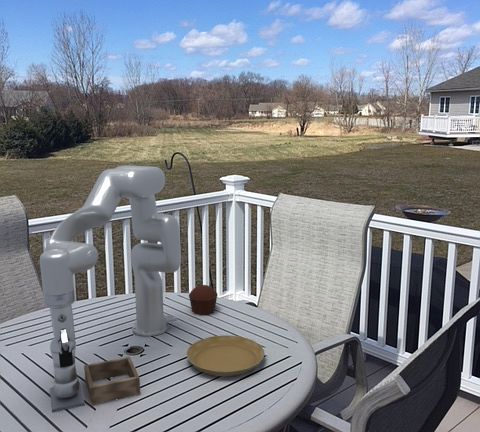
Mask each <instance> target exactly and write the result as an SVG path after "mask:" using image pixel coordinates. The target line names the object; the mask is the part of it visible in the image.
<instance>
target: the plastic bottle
mask: <svg viewBox="0 0 480 432" xmlns="http://www.w3.org/2000/svg"><path fill="white" fill-rule="evenodd" d="M60 333H61V330H60ZM67 340H68V338H67ZM60 341H62V340H60ZM76 343H77V342H76V340H75V341H70V345H71V350H72V356H73V365H72V366H68V367H63V368H61V367H60V361H59V353H60V351H59V344H57V343H56V341H55V337H53V338H52V340H51V341H50V343H49V345H50V346H49V350H50V354H51V358H52V362H53V370H54V372H53V373H54V375H53V376H54V377H53V378H54V380H53V387H54V392H55V395H56V396H57V397H58V398H61V399H66V398H70V397H72V396H74V395H75V394H76V393H77V392H78V390H79V382H80V380H79V377H78V373H77V368H76V346H77V344H76ZM62 346H63V345H62V344H61V348H62Z"/></svg>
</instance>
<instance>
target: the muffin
mask: <svg viewBox="0 0 480 432" xmlns="http://www.w3.org/2000/svg"><path fill="white" fill-rule="evenodd" d="M218 296H219V295H218V292H217V291H216V290H215V289H214V288H213V287H211V286H210V285H207V284H200V285H196V286H195V287H194V288H193V289H192V290H191V291H190V293H189V294H188V297H189V303H190V307H191V312H192V313H193V314H194V315H198V316H208V315H210V314H212V315H213V314H214V313H215V311H216V306H217V298H218Z"/></svg>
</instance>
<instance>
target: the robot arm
mask: <svg viewBox="0 0 480 432" xmlns="http://www.w3.org/2000/svg"><path fill="white" fill-rule="evenodd" d="M165 184H166V175H165V173H164V171H163V170H162V169H161V168H160V167H157V166H148V165H147V166H146V165H143V166H142V165H119V166H117V167H115V168H108V169H105V170H103V171H102V172H101V173H100V174H99V176H98V178H97V180H96V181H95V183H94V186H93V187H92V189H91V191H90V193H89V195H88V197H87V199H86V200H85V203H84V204H83V206H82V207H81V208H79V209H78V210H76V211H74V212H73V213H72V214H70V215H69V216H67V217H66V218H65V219H63V220H62V221H61V222H60V223H58V225H57V226H56V228H55V229H54V230H53V232H52V233H51V235H50V237H49V239H48V241H47V243H46V246H45V248H44V252H42V253H41V254H40V256H39V265H40V266H39V267H40V275H41V284H42V285H41V286H42V296H43V305H44V306H45V308H49V313H50V321H51V327H52V332H53V336H54V337H55V341H56V343H57V344H59V351H60V353H59V361H60V367H61V368H63V367H68V366H72V365H73V356H72V350H71V345H70V341H75V342H76V334H75V322H74V313H73V312H74V311H73V307H72V305H73V304H74V303H75V302H76V297H75V285H74V284H75V283H74V275H75V274H80V273H83V272H87V271H89V270H91V269H92V268H94V266H95V267H96V265H97V264H98V263H97V262H98V260H99V252H98V249H97V248H96V247H95V246H94V245H92V243H91V244H90V243H88V242H87V243H86V242H79V241H73V240H74V239H75V238H77V237H78V236H79V235H81V234H82V233H85V232H86V231H90V230H92V229H96V228H98V227H101V226H104V225H106V224H108V223H109V222H111V220H112V218H113V216H114V214H115V212H116V210H117V207H118V206H119V204H120V202H121V200H122V199H124V198H127V199H128V201H129V205H130V213H131V214H130V216H131V224H132V225H131V226H132V232H133V233H132V234H133V236H134V238H135V239H138V240H140V241H147V242H140V243H137V244H135V245H134V246H133V247H132V249H131V250H130V251H131V252H130V263H131V266H132V269H133V270H132V272H133V276H134V278H133V279H134V294H135V318H136V320H135V321H136V322H135V323H134V324H133V325H132V328H131V329H132V332H133V333H134V334H135V335H137V336H140V337H154V336H158V335H161V334H163V333H165V332H166V331H168V329H169V323H172V322H177V321H178V317H177V316H176V315H174V316H173V315H172V314H167V315H165V314H164V296H163V295H164V293H163V292H164V291H163V287H164V286H163V279H162V276H161V274H160V273H166V274H168V273H169V274H172V273H176V272H177V271H178V270H179V268H181V264H182V263H181V262H182V248H181V246H182V245H181V233H180V224H179V221H178V219H177V218H176V217H175V216H174V215H171V214H167V213H159V212H158V209H157V200H156V197H155V195H157V194H159V193H161V192H162V190H163V188H165ZM153 242H156V243H153ZM160 243H161V244H160ZM60 330H61V333H60ZM54 337H53V338H54ZM67 338H68V340H67ZM60 340H62V341H60ZM61 344H62V345H63V346H62V348H61Z"/></svg>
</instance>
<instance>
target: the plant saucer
mask: <svg viewBox="0 0 480 432" xmlns="http://www.w3.org/2000/svg"><path fill="white" fill-rule="evenodd" d="M264 357H265V349H264V347H263V346H262V345H261V344H260V343H258V342H257V341H255V340H254V339H251V338H248V337H243V336H239V335H227V334H226V335H224V334H223V335H213V336H207V337H205V338H201V339H200V340H196V341H195V342H193V343H192V344H191V345H190V346H189V347H188V348H187V351H186V358H187V360H188V362H189V363H190V364H191V366H193V367H194V368H195V369H196V370H198V371H200V372H201V373H205V375H206V374H207V375H210V376H213V377H235V376H241V375H243V374H246V373H248V372H251V371H252V370H254V369H255V368H256V367H258V366H259V365H260V364H261V362H262V361H263V359H264Z"/></svg>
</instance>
